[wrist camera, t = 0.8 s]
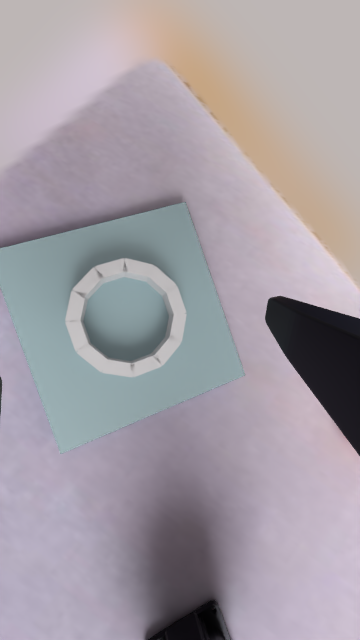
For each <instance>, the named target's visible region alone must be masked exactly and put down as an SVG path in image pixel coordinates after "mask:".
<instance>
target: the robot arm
mask: <svg viewBox="0 0 360 640" xmlns="http://www.w3.org/2000/svg"><path fill="white" fill-rule="evenodd" d="M265 320H266V323H267V325H268V327H269V329H270V331H271V332H272V334H273V336H274V337H275V339H276V341H277V342H278V344H279V346H280V348H281V349H282V351H283V353H284V354H285V356H286V357H287V359H288V360H289V361H290V363H291V364H292V365H293V367H294V368H295V370H296V371H297V372H298V374H299V375H300V376H301V378H302V379H303V380H304V382H305V383H306V384H307V386H308V387H309V388H310V390H311V391H312V392H313V394H314V395H315V396H316V398H317V399H318V400H319V402H320V403H321V405H322V406H323V407H324V409H325V410H326V411H327V413H328V414H329V415H330V417H331V418H332V419H333V421H334V422H335V423H336V425H337V426H338V427H339V429H340V430H341V431H342V433H343V434H344V435H345V437H346V438H347V440H348V441H349V442H350V444H351V445H352V446H353V448H354V449H355V450H356V452H357V453H358V454H359V456H360V319H359V318H355V317H352V316H349V315H345V314H342V313H338V312H335V311H331V310H328V309H324V308H321V307H317V306H314V305H311V304H307V303H304V302H300V301H297V300H293V299H290V298H286V297H283V296H277V297H272V298H270V299H269V300H268V304H267V310H266V316H265ZM1 395H2V380H1V377H0V414H1ZM213 608H214V609H213ZM212 609H213V610H212ZM149 640H231V639H230V636H229V633H228V631H227V628H226V625H225V622H224V619H223V616H222V614H221V611H220V608H219V605H218V603H217V601H215V600H212V601H210V602H208V603H207V604H205V605H203V606H202V607H200V608H198V609H197V610H195V611H194V612H192V613H190V614H189V615H187V616H185V617H184V618H182V619H181V620H179V621H177V622H176V623H174V624H173V625H171V626H169V627H168V628H166V629H164V630H163V631H161V632H160V633H158V634H156V635H155V636H153V637H152V638H150V639H149Z"/></svg>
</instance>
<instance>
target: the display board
mask: <svg viewBox="0 0 360 640" xmlns="http://www.w3.org/2000/svg"><path fill="white" fill-rule="evenodd" d="M0 288H1V291H2V293H3V296H4V299H5V302H6V304H7V307H8V310H9V313H10V315H11V318H12V321H13V324H14V327H15V329H16V332H17V335H18V338H19V340H20V343H21V346H22V349H23V351H24V354H25V357H26V360H27V363H28V365H29V368H30V371H31V374H32V376H33V379H34V382H35V385H36V387H37V390H38V393H39V396H40V398H41V401H42V404H43V407H44V410H45V412H46V415H47V418H48V421H49V423H50V426H51V429H52V432H53V434H54V437H55V440H56V443H57V445H58V448H59V451H60V454H62V453H65V452H67V451H69V450H72V449H74V448H76V447H79V446H81V445H83V444H86V443H88V442H90V441H93V440H95V439H97V438H100V437H102V436H104V435H107V434H109V433H111V432H114V431H116V430H118V429H121V428H123V427H125V426H128V425H130V424H132V423H135V422H137V421H139V420H142V419H144V418H146V417H149V416H151V415H154V414H156V413H158V412H161V411H163V410H165V409H168V408H170V407H172V406H175V405H177V404H179V403H182V402H184V401H186V400H189V399H191V398H193V397H196V396H198V395H200V394H203V393H205V392H207V391H210V390H212V389H214V388H217V387H219V386H221V385H224V384H226V383H228V382H231V381H233V380H235V379H238V378H240V377H242V376H245V373H244V370H243V367H242V365H241V362H240V359H239V356H238V353H237V350H236V347H235V344H234V341H233V338H232V336H231V333H230V330H229V327H228V324H227V321H226V318H225V315H224V312H223V309H222V306H221V304H220V301H219V298H218V295H217V292H216V289H215V286H214V283H213V280H212V277H211V275H210V272H209V269H208V266H207V263H206V260H205V257H204V254H203V251H202V248H201V246H200V243H199V240H198V237H197V234H196V231H195V228H194V225H193V222H192V219H191V217H190V214H189V211H188V208H187V205H186V202H183V203H179V204H175V205H171V206H167V207H163V208H159V209H155V210H151V211H147V212H143V213H139V214H135V215H131V216H127V217H123V218H119V219H115V220H111V221H107V222H103V223H99V224H95V225H91V226H87V227H83V228H79V229H75V230H71V231H67V232H63V233H59V234H55V235H51V236H47V237H43V238H39V239H35V240H31V241H27V242H23V243H20V244H16V245H12V246H8V247H4V248H0Z"/></svg>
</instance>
